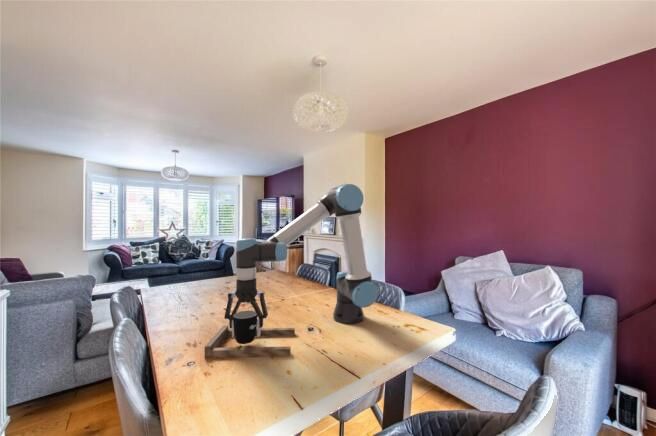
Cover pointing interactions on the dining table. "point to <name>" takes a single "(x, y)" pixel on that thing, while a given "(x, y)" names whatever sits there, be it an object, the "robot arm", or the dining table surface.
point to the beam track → (243, 351)
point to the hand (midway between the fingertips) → (246, 335)
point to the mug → (245, 326)
